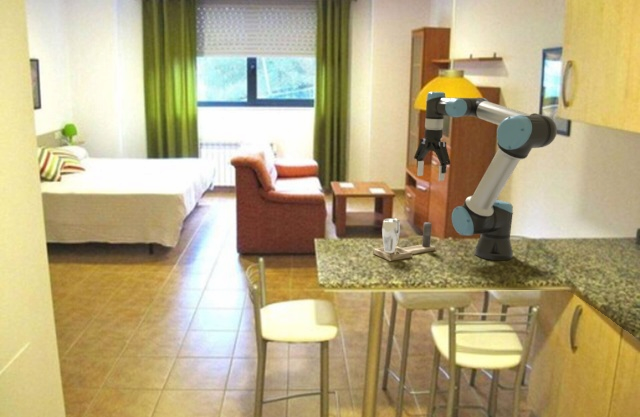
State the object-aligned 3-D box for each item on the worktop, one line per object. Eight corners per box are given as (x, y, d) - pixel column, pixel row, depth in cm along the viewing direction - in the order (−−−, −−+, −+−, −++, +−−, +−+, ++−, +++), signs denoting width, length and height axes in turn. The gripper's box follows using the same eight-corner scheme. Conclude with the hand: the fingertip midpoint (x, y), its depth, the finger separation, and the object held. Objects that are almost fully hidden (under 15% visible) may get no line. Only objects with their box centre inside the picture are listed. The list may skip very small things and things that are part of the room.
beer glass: (386, 259, 239) (388, 222, 236) (377, 254, 245) (379, 218, 242) (401, 257, 242) (403, 221, 238) (392, 252, 248) (394, 217, 245)
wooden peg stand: (440, 252, 250) (442, 225, 248) (389, 260, 237) (391, 232, 234) (422, 245, 260) (423, 219, 257) (372, 253, 246) (373, 226, 244)
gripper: (461, 131, 246) (457, 182, 251) (421, 126, 267) (418, 173, 271) (447, 131, 242) (444, 183, 247) (408, 126, 263) (405, 174, 267)
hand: (430, 178), depth 259 cm, fingers open, 13 cm apart
